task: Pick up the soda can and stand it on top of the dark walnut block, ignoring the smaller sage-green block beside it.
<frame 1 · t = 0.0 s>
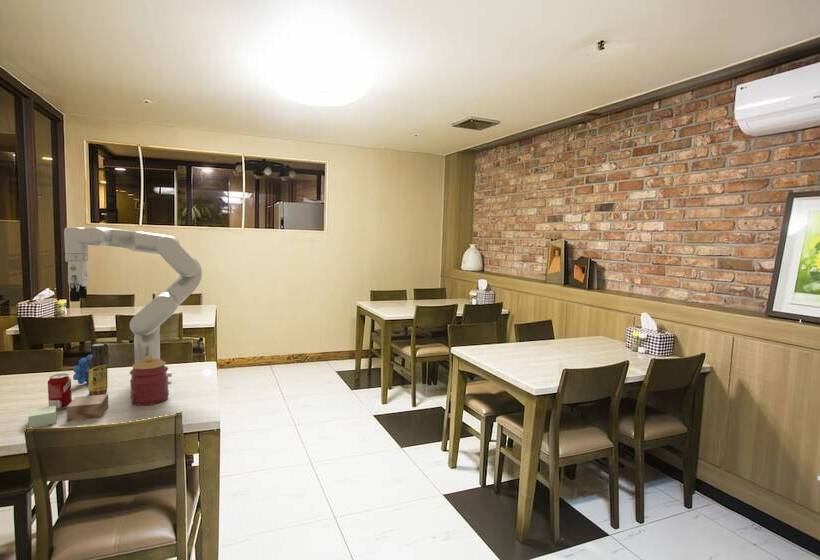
hand: (78, 299, 186), 37 cm above the table, tool pointing down, fingers open, 9 cm apart
grapes: (87, 382, 196), on the table
green block: (43, 422, 154), on the table
walnut block: (88, 413, 162), on the table
canister: (150, 400, 177), on the table
sauce bottle: (98, 393, 183), on the table
soda can: (60, 408, 168), on the table
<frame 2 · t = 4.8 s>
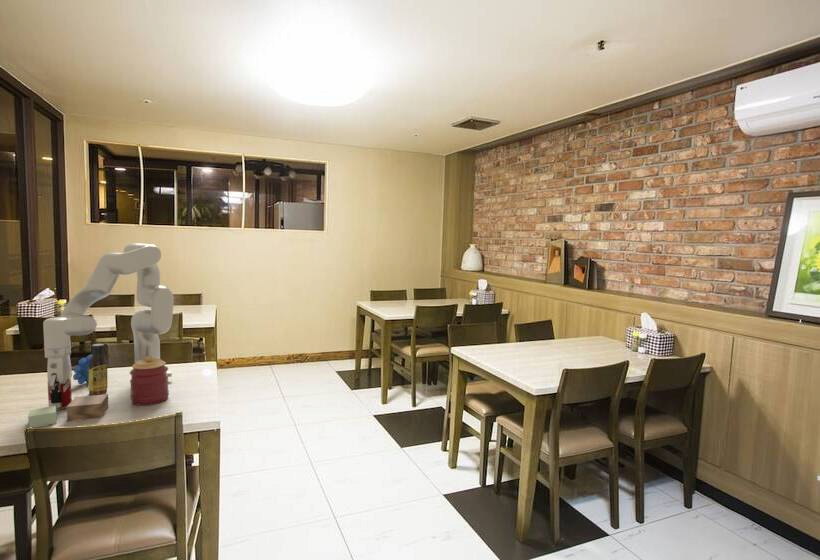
hand: (60, 398, 167), 3 cm above the table, tool pointing down, fingers closed on soda can, 6 cm apart
soda can: (60, 407, 168), on the table, touching gripper
everything else where it was.
when the fingers open (10 cm above the table, at t = 9.9 s): soda can drops 1 cm, resting on walnut block.
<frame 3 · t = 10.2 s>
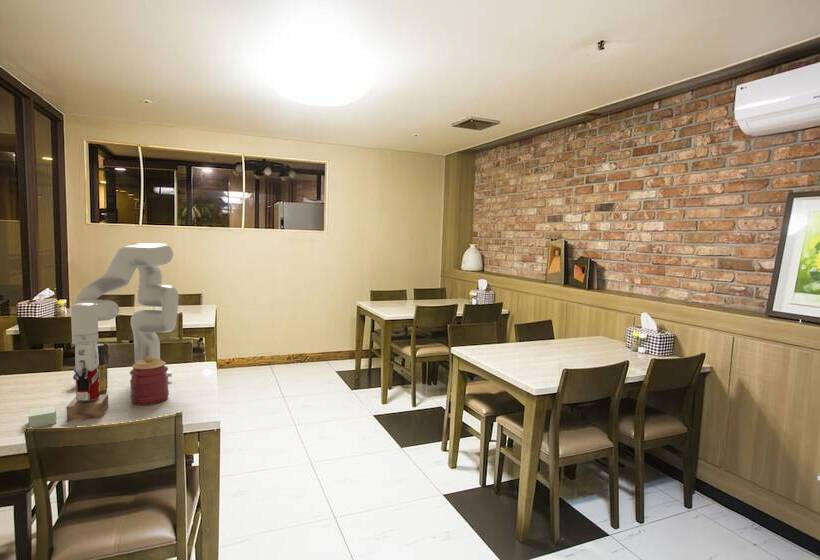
hand: (87, 385, 161), 10 cm above the table, tool pointing down, fingers open, 9 cm apart
soda can: (88, 400, 162), point 5 cm above the table, touching walnut block
everything else where it was.
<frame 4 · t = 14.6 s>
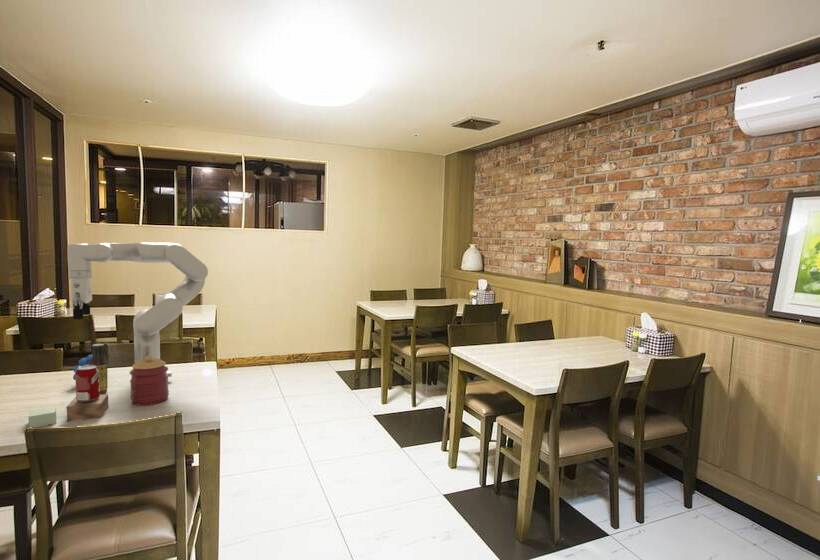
hand: (82, 316, 183), 30 cm above the table, tool pointing down, fingers open, 9 cm apart
nothing on the table moved.
at the end: soda can inside the target area on the walnut block (0.2 cm from its centre), point 4.8 cm above the walnut block's base; soda can tilted 0°; the gripper is holding nothing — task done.
